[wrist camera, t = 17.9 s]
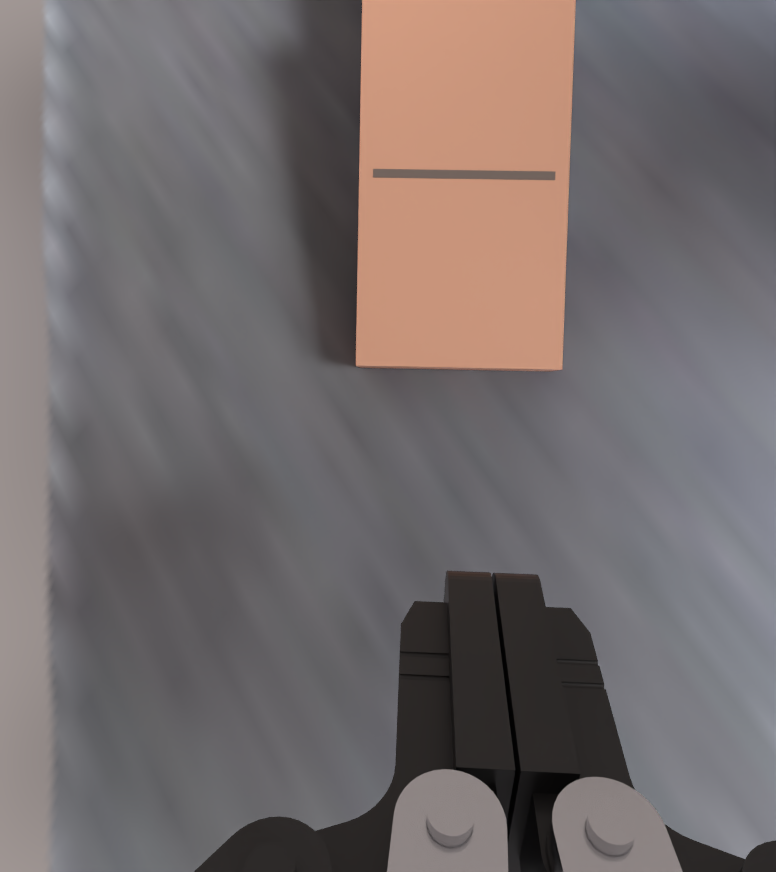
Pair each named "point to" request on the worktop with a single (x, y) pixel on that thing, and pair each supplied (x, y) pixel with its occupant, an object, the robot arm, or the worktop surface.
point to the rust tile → (464, 183)
